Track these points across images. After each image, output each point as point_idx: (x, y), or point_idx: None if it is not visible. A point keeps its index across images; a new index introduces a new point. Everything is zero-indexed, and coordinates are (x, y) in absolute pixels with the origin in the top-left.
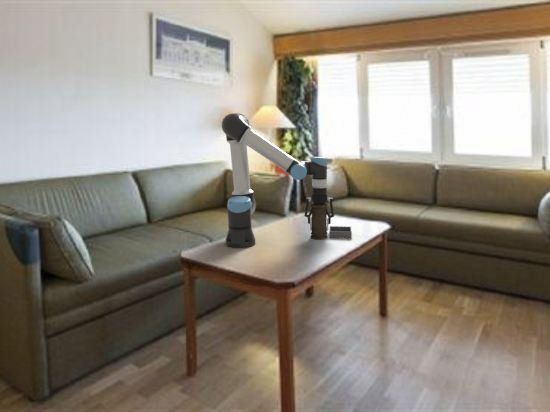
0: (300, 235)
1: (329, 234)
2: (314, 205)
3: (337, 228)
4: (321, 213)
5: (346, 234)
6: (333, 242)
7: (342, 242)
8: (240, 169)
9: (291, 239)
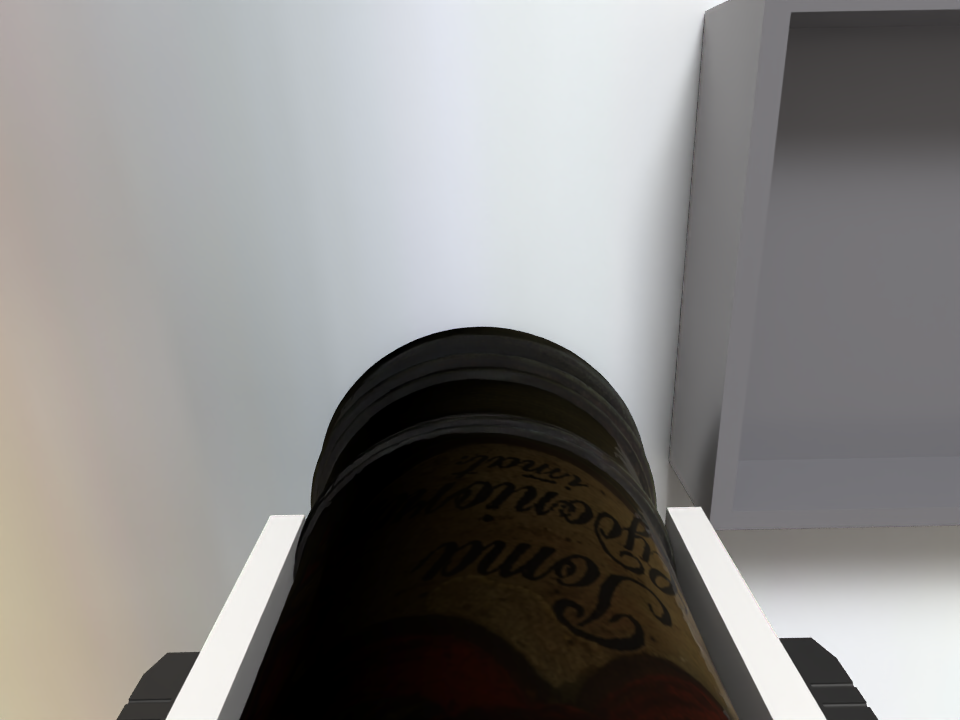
0: (98, 341)
1: (692, 493)
2: None
3: (954, 16)
4: None
5: None
6: None
7: (860, 679)
8: None
9: (21, 608)
